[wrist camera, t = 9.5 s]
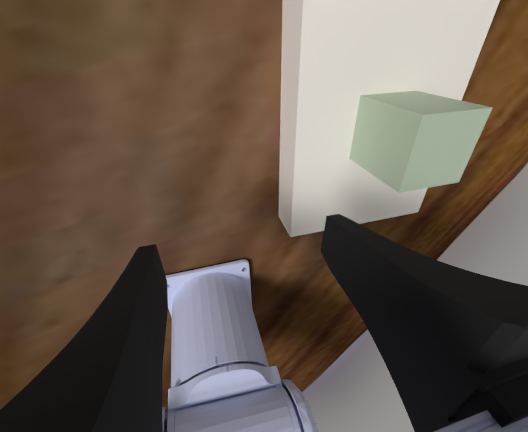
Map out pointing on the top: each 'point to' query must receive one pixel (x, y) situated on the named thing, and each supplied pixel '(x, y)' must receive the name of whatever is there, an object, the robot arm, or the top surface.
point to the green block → (416, 138)
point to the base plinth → (361, 83)
